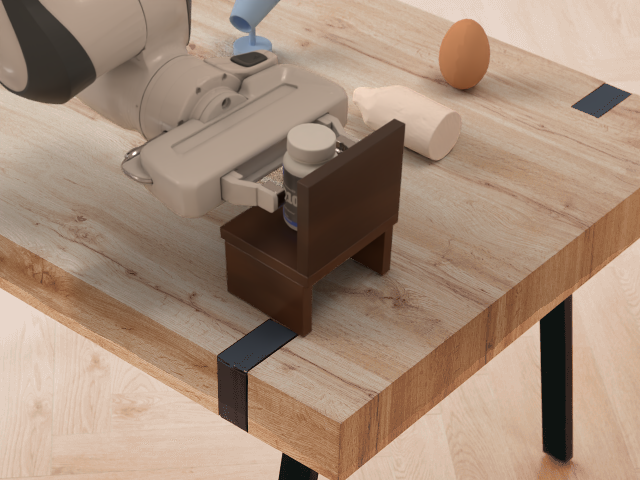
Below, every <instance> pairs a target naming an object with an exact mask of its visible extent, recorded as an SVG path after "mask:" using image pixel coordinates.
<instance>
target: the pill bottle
mask: <svg viewBox="0 0 640 480" xmlns="http://www.w3.org/2000/svg"><path fill="white" fill-rule="evenodd" d="M337 155H338V154H337V153H336V135H335V133H334V132H333V131H332V130H331V129H330V128H328V127H326V126H324V125H320V124H314V123H307V124H301V125H298V126H295V127H293V128H292V129H291V130H290V131H289V133H288V135H287V151H286V153H285V154H284V157H283V166H282V187H283V188H284V190H285V192H286V196H285V200H286V203H285V204H284V205H283V216H284V220H285V222H286V223H287V225H288V226H289V227H290V228H292V229H294V230H296V231H297V181H299V180H300V179H302V178H303V177H305V176H306V175H308V174H310V173H311V172H313V171H314V170H316V169H317V168H319V167H320V166H322V165H323V164H325V163H327V162H328V161H330V160H331V159H333V158H334V157H336V156H337Z"/></svg>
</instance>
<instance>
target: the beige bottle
mask: <svg viewBox="0 0 640 480" xmlns="http://www.w3.org/2000/svg"><path fill="white" fill-rule="evenodd" d="M352 102H353V103H354V105H355V106H356V107H357V109H358V110H359V111H360V113H361V117H362V120H363V122H364V124H365V125H366V126H367V127H368V128H369V129H370V130H372V131H373V132H374V131H376V130H377V129H379V128H381V127H382V126H384V125H385V124H387V123H388V122H390V121H391V120H393V119H397V120H399V121H401V122H403V123H405V124H406V125H405V138H404V148H408V149H409V150H411V151H413V152H415V153H417V154H419V155H421V156H423V157H425V158H428V159H429V160H432V161H440V160H442V159H443V158H445V157H446V156H447V155H448V154H449V153H450V152H451V151H452V150H453V148H454V147H455V145H456V144H457V142H458V140H459V137H460V135H461V131H462V125H463V121H462V120H463V119H462V115H461V113H459V112H458V111H457V110H456V109H453V108H451V107H449V106H446V105H445V104H442V103H440V102H438V101H436V100H434V99H432V98H430V97H428V96H427V95H424V94H422V93H420V92H418V91H416V90H414V89H412V88H410V87H408V86H406V85H401V84H394V85H388V86H381V87H373V86H372V87H369V86H359V87H356V88H355V89H354V90H353V92H352Z"/></svg>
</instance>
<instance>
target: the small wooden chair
mask: <svg viewBox="0 0 640 480" xmlns="http://www.w3.org/2000/svg"><path fill="white" fill-rule="evenodd" d="M405 125H406V124H405V123H403V122H401V121H399V120H397V119H393V120H391V121H390V122H388V123H387V124H385V125H384V126H382V127H381V128H379V129H377V130H376V131H373V132H371V133H369V134H368V135H367V136H365V137H363V138H362V139H361V140H360V139H359V142H357V143H356V144H354V145H353V146H351V147H350V148H348V149H347V150H345V151H343V152H342V153H340V154H339V155H337V156H336V157H334V158H333V159H331V160H330V161H328V162H327V163H325V164H323V165H322V166H320V167H319V168H317V169H316V170H314V171H313V172H311V173H310V174H308V175H306V176H305V177H303V178H302V179H300V180H299V181H297V231H296V230H294V229H292V228H290V227H289V226H288V225H287V223H286V222H285V220H284V216H283V206H281V207H280V208H279V209H277V210H276V211H274V212H273V213H270V212H269V211H267V210H265V209H263V208H261V207H259V206H258V205H257V206H249V208H247V209H246V210H244V211H242V212H241V213H239V214H238V215H236V216H235V217H233V218H232V219H230V220H228V221H227V222H225V223H224V224H222V225H221V226H219V237H220V239H222V240H223V241H224V254H225V269H226V271H225V273H226V284H227V285H226V286H227V287H226V288H227V292H228V293H230V294H231V295H233V296H235V297H237V299H239V300H241V301H243V302H245V303H246V304H247V305H249V306H251V307H252V308H254V309H256V310H257V311H258V312H261V313H262V314H264V315H266V316H267V317H268V318H271V320H273V321H275V322H277V323H279V325H282V326H284V327H285V328H287V329H288V330H290V331H292V332H293V333H295V334H296V335H298V336H299V337H301V338H305V337H306V336H307V335H308V334H310V333H311V332H312V331H313V286H314V285H316V284H317V283H318V282H319V281H321V280H322V279H324V278H325V277H326V276H327V275H329V274H330V273H332V272H333V271H334V270H335V269H337V268H338V267H340V266H341V265H343V263H345V262H346V261H348V260H349V259H351V261H354V262H356V263H358V264H360V265H361V266H363V267H365V268H367V269H369V270H370V271H372V272H373V273H376V274H378V275H379V276H381V277H383V276H384V275H385V274H386V273H388V272H389V271H391V261H392V247H393V235H394V233H393V232H394V226H395V225H396V224H398V222H399V215H400V214H399V213H400V200H401V189H402V188H401V187H402V176H403V163H404V152H405V151H404V148H405V146H404V138H405Z"/></svg>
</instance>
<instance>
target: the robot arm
mask: <svg viewBox="0 0 640 480" xmlns="http://www.w3.org/2000/svg"><path fill="white" fill-rule="evenodd" d="M192 2H193V1H192V0H0V85H1V86H2V87H3V88H4V89H5V90H6V91H8V92H10V93H12V94H14V95H15V96H18V97H21V98H23V99H26V100H29V101H33V102H37V103H41V104H48V105H65V104H66V103H68V102H69V101H71V100H72V99H73V98H76V99H77V100H79V101H80V102H81V103H82V104H83V105H85V106H86V107H87V108H89V109H90V110H92V111H93V112H95V114H97V115H99V116H100V117H102V118H104V119H105V120H107V121H109V122H110V123H112V124H114V125H115V126H118V127H119V128H122V129H124V130H127V131H132V132H137V133H138V134H140V136H141V137H142V138H143V139H144V140H145V141H146V142H144V143H142V144H141V145H139V146H136V147H133V148H131V149H129V150H128V151H127V152H126V153H125V154H124V159H123V160H122V161H121V162H120V170H121V172H122V174H123V175H124V176H125V177H126V178H128V179H129V180H131V181H133V182H135V183H136V184H139V185H143V186H144V187H145V190H147V191H148V192H149V193H150V194H151V195H152V196H153V198H155V199H156V200H157V201H159V202H160V203H161V204H162V205H164V206H165V207H166V208H167V209H169V210H170V211H172V212H173V213H175V214H176V215H178V216H180V217H181V218H184V219H200V218H202V217H204V216H205V215H207V214H208V213H210V212H211V211H213V210H215V209H216V208H218V207H219V206H221V205H223V204H225V203H226V202H228V203H229V204H231V205H233V206H234V205H235V206H246V207H252V206H257V205H258V206H259V207H261V208H263V209H265V210H267V211H269V212H270V213H273V212H274V211H276V210H277V209H279V208H280V207H281V206H283V205H284V204H285V203H286V200H285V196H286V192H285V190H284V188H283V186H281V185H277V183H275V182H274V181H272V180H270V179H269V180H267V181H266V182H264V183H259V182H260V181H262V180H263V179H264V178H267V176H269V175H270V174H272V173H274V172H275V171H277V170H279V169H280V168H283V157H284V154H285V153H286V151H287V135H288V133H289V131H290V130H291V129H292V128H293V127H295V126H298V125H301V124H307V123H314V124H320V125H324V126H326V127H328V128H330V129H331V130H332V131H333V132H334V133H335V135H336V153H337V154H338V155H339V154H340V153H342V152H343V151H345V150H347V149H348V148H350V147H351V146H353V145H354V144H356V143H357V142H359V141H360V139H358V138H357V137H355V136H353V135H351V134H349V133H347V132H346V130H345V128H346V127H347V125H348V119H349V96H348V94H347V92H346V90H345V88H344V87H343V86H342V85H341V84H338V83H337V82H335V81H333V80H331V79H329V78H327V77H325V76H323V75H321V74H319V73H317V72H315V71H312V70H311V69H307V68H305V67H303V66H300V65H296V64H292V63H279V60H278V55H277V54H276V53H274V52H273V51H272V52H270V51H268V50H263V49H261V50H255V51H252V52H248V53H244V54H239V55H234V54H233V55H229V56H213V57H207V58H204V59H202V58H200V57H198V56H196V55H193V54H190V53H189V52H188V51H189V50H188V48H187V47H188V46H189V44H190V40H191V33H192V5H193V3H192Z"/></svg>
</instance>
